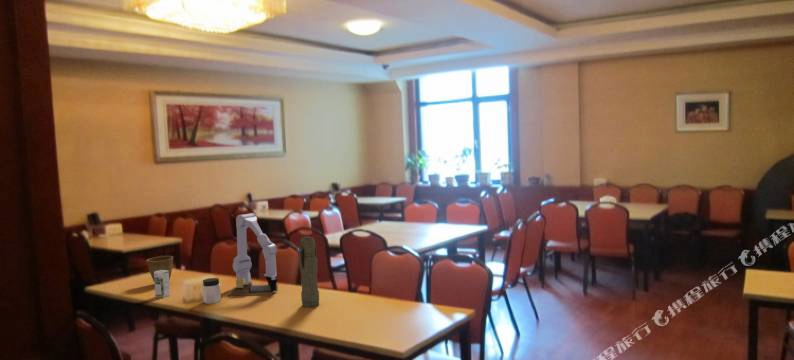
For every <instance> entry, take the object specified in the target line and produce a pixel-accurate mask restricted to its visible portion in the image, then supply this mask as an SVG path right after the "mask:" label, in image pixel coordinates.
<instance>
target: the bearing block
mask: <svg viewBox="0 0 794 360" xmlns="http://www.w3.org/2000/svg"><path fill="white" fill-rule="evenodd" d="M252 283H253V282H252V281H249V282H245V283H244V284H243V290H242V287H236V286H235V287H233V288H232V289H231V290H230V292H229V293H228V294H226V297H248V296H249V295H253V296H271V295H272V294H274V292H275V291H260V292H249V285H253V284H252ZM249 297H250V296H249Z"/></svg>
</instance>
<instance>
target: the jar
mask: <svg viewBox="0 0 794 360" xmlns="http://www.w3.org/2000/svg"><path fill="white" fill-rule="evenodd" d="M221 297H222V296H221V284H220V278H218V277H210V278H205V279H203V280H202V300H203V303H205V304H206V305H211V304H214V305H215V304H218V303H220V302H221V301H222V298H221Z"/></svg>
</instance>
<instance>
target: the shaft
mask: <svg viewBox="0 0 794 360" xmlns="http://www.w3.org/2000/svg"><path fill="white" fill-rule="evenodd" d="M278 285H279V284H278V283H276V288H275V291H274V292H278V289H279V287H278ZM242 290H243V287H242ZM260 291H271V289H270V285H268V284H254V285H253V284H252V285H249V292H260Z"/></svg>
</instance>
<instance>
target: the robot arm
mask: <svg viewBox="0 0 794 360" xmlns="http://www.w3.org/2000/svg"><path fill="white" fill-rule="evenodd" d="M235 223H236V225H235V226H236V246H237V248H236V249H237V255H236V256H235V257H234V258H233V262H232V269H233V271H234V273H235V275H236V280H237V279H238V278H245V282H249V281H251V280H252V277H251V272H250V270H251V268H252V266H253V264H252V260H251V256H249V255H248V247H247V246H248V243H247V242H248V241H247V238H248V237H247V235H248V234H247V229H248V228H250V229H251V230H252V231H253V233H254V234H255V236H256V237H257V238H256V240H257V242H258V244H259V245H260V247H261V248H262V254H263V257H264V259H265V261H264V262H265V273H263V276H264V277H265V279H266V281H267V285H270V289H271V291H274V292H276V291H275V288H276V284H278V281H279V279H278V277H277V275H278V273H277V259H276V254H277V253H278V246H277V244H276V243H273V242H272V241H271V240H270V239H269V237H268V235H267V234H266V233H263V231H262V229H261V227H260V225H259V223H258V217H257V216H256V214H255V213H253V212H251V213H245V214H238V215H237V216H236V217H235ZM276 277H277V278H276ZM251 282H252V281H251ZM252 285H253V282H252ZM235 287H237V286H235Z"/></svg>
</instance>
